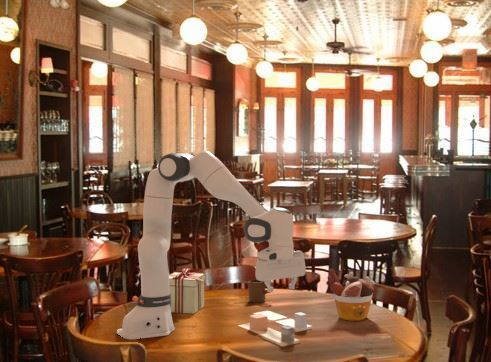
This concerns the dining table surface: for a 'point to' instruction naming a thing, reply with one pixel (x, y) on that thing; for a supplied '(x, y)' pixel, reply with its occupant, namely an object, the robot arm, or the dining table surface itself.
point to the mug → (257, 291)
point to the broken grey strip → (289, 320)
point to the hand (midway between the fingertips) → (281, 290)
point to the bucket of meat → (352, 296)
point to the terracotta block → (258, 322)
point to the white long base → (276, 335)
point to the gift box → (186, 291)
